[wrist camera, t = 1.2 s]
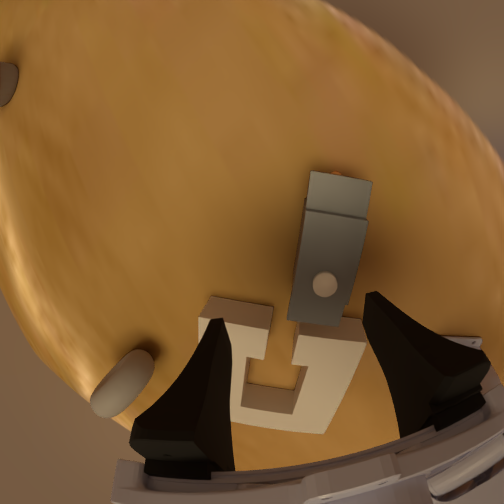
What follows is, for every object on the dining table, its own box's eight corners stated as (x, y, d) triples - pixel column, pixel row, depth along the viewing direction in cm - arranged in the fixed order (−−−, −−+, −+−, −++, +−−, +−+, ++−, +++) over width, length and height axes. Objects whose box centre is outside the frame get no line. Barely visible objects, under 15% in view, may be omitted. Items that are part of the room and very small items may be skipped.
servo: (359, 174, 20) (378, 182, 15) (333, 299, 24) (339, 337, 19) (308, 166, 20) (311, 170, 15) (289, 293, 24) (285, 330, 19)
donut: (149, 330, 29) (102, 390, 20) (172, 351, 29) (132, 415, 20) (114, 361, 32) (75, 410, 23) (133, 378, 33) (98, 430, 24)
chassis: (360, 318, 24) (367, 342, 21) (323, 411, 29) (323, 434, 26) (211, 295, 26) (198, 316, 22) (209, 392, 31) (201, 414, 27)
